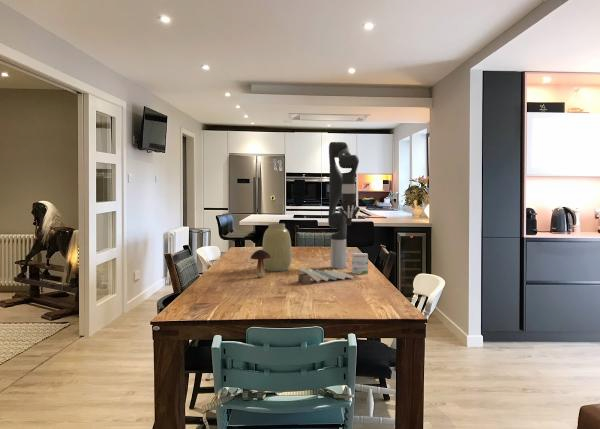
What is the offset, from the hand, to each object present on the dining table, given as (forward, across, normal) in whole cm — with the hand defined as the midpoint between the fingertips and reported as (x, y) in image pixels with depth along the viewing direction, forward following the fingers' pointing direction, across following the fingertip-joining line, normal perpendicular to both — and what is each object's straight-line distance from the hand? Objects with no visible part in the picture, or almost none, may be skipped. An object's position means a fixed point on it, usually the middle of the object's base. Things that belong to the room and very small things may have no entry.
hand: (348, 224), depth 239 cm
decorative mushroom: (+28, -44, +19) cm, 55 cm away
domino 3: (+26, -14, -8) cm, 30 cm away
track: (+28, -17, -8) cm, 33 cm away
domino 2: (+26, -19, -8) cm, 33 cm away
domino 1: (+26, -24, -8) cm, 36 cm away
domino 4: (+26, -9, -8) cm, 29 cm away
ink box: (+29, +9, +3) cm, 30 cm away
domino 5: (+26, -4, -8) cm, 28 cm away
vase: (+28, -26, +37) cm, 54 cm away
